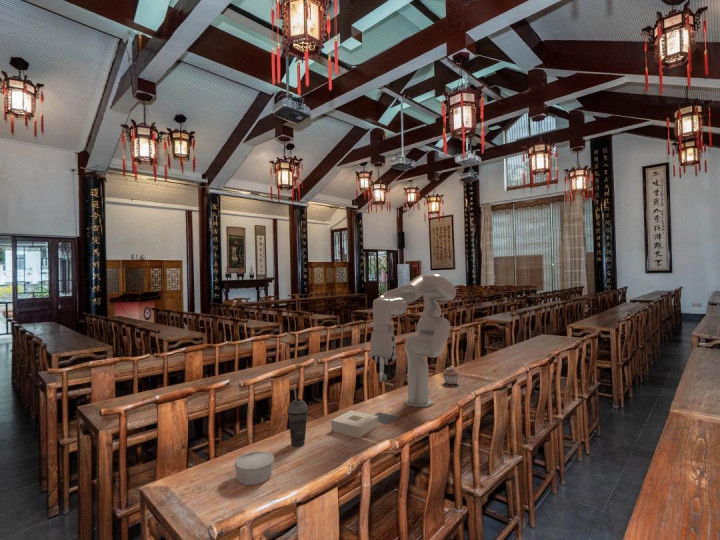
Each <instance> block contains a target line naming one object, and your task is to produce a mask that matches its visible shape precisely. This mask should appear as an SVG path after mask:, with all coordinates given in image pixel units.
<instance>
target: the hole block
mask: <svg viewBox="0 0 720 540" xmlns="http://www.w3.org/2000/svg"><path fill="white" fill-rule="evenodd" d="M378 426H379V423H378V416H375V414H370V413H366V412H362V411H356V410H352V409H350V410H348V411H347V412H346V411H345V412H344V413H343V414H341V415H339V416H337V417H335V418H333V419H331V431H332V432H335V433H338V434H342V435H344V436H345V435H346V436H349V437H354V438H358V439H362V438H363V436H364V435H366V434H368V433H369V432H371V431H372V430H373V429H375V428H376V427H378Z"/></svg>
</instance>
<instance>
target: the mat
mask: <svg viewBox="0 0 720 540" xmlns="http://www.w3.org/2000/svg"><path fill="white" fill-rule="evenodd" d="M374 415H375V416H378V424H383V425H390V424H391V423H393V422H394V421H396V420H397V419H398V418H399V419H400V416H399V415H394V414H388V413H384V412H380V411H378V412H377V413H375V414H374Z"/></svg>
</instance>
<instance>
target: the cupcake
mask: <svg viewBox="0 0 720 540" xmlns="http://www.w3.org/2000/svg"><path fill="white" fill-rule="evenodd" d="M441 375H442V377H443V379H444V383H445V384H446V383H447V384H446V385H448V384H451V385H450V386H453V385H452V384H456V385H458V382H459V378H460V376H461V375H460V374H459V372H458V370H457V369H456V368H455V367H454V366H453V365H449V367H446V368H445V369H444V371H443V373H442V374H441Z"/></svg>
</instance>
